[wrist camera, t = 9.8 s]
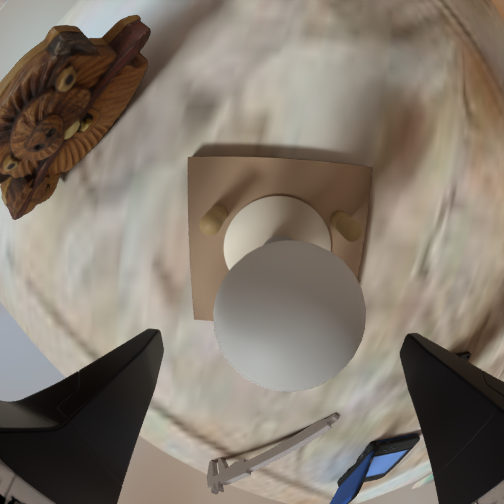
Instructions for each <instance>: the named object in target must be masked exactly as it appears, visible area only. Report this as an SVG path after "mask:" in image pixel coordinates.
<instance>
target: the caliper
mask: <svg viewBox="0 0 504 504" xmlns="http://www.w3.org/2000/svg"><path fill="white" fill-rule="evenodd" d="M338 418H339V416H338V415H336V414H333V415H331V416H330V417H328V418H327V419H325V418H324V419H322V420H320V421H318V422H316V423H314V424H312V425H311V426H309V427H307V428H306V429H304V430H303V431H301V432H299V433H298V434H296V435H295V436H293V437H291V438H289V439H288V440H286V441H284V442H283V443H281V444H279V445H277V446H275V447H274V448H272V449H270V450H268V451H266V452H264V453H262V454H260V455H258V456H256V457H254V458H252V459H250V460H246V459H244V458H242V459H241V460H239V461H238V462H234V463H233V464H232V465H230V467H229V466H228V464H227V462H226V460H224V459H222V458H218V467H219V474H218V471H217V462H215V461H213V460H211V461H210V462H209V468H208V474H207V481H208V487H209V488H211V492H212V493H214V494H218V492H219V491H221V492H224V490H223V484H224V485H228V484H231V483H233V482H236V481H238V480H240V479H243V478H245V477H247V476H249V475H251V472H253V471H255V470H257V469H259V468H261V467H263V466H266V465H268V464H270V463H272V462H274V461H276V460H278V459H280V458H281V457H283V456H285V455H287V454H289V453H291V452H293V451H294V450H296V449H298V448H300V447H302V446H303V445H305V444H307V443H308V442H310V441H312V440H313V439H315V438H317V437H318V436H320V435H321V434H323V433H325V432H326V431H328V430H329V429H331V424H333V423H334V422H336V421H337V420H338Z"/></svg>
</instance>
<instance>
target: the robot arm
mask: <svg viewBox="0 0 504 504" xmlns="http://www.w3.org/2000/svg"><path fill="white" fill-rule="evenodd" d="M163 353H164V347H163V342H162V336H161V332H160V331H159V330H158V329H147V330H145V331H144V332H142V333H140V334H139V335H137V336H135V337H134V338H132V339H130V340H129V341H127V342H126V343H124V344H122V345H121V346H119V347H117V348H116V349H114V350H112V351H111V352H109V353H107V354H106V355H104V356H102V357H101V358H99V359H97V360H96V361H94V362H92V363H91V364H89V365H87V366H86V367H84V368H82V369H81V370H79V372H78V371H77V372H76V373H74V374H72V375H71V376H69V377H67V378H65V379H63V380H62V381H60V382H58V383H56V384H54V385H52V386H50V387H48V388H46V389H44V390H42V391H39V392H37V393H35V394H33V395H30V396H28V397H26V398H24V399H22V400H18V401H12V402H6V401H0V504H117V502H118V499H119V495H120V492H121V489H122V484H123V482H124V478H125V475H126V472H127V469H128V466H129V463H130V459H131V456H132V453H133V450H134V447H135V444H136V441H137V438H138V436H139V433H140V430H141V427H142V424H143V421H144V418H145V415H146V413H147V410H148V407H149V404H150V401H151V399H152V396H153V393H154V390H155V387H156V383H157V378H158V374H159V370H160V366H161V362H162V357H163ZM470 356H471V353H470V352H464V353H459V354H453V353H451V352H450V351H448V350H446V349H444V348H443V347H441V346H439V345H437V344H436V343H434V342H432V341H430V340H428V339H427V338H425V337H423V336H421V335H420V334H418V333H410V334H407V335H406V337H405V340H404V342H403V345H402V347H401V350H400V358H401V362H402V366H403V370H404V374H405V378H406V383H407V386H408V390H409V393H410V396H411V399H412V402H413V405H414V408H415V411H416V414H417V417H418V420H419V424H420V427H421V430H422V434H423V437H424V441H425V444H426V448H427V452H428V456H429V459H430V463H431V468H432V472H433V476H434V481H435V486H436V491H437V496H438V501H439V504H475V503H477V504H504V382H503V381H501V380H499V379H497V378H495V377H493V376H492V375H490V374H488V373H486V372H485V371H482V370H481V369H479V368H478V367H476V366H474V365H472V364H471V363H469V362H468V360H469V358H470Z"/></svg>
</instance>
